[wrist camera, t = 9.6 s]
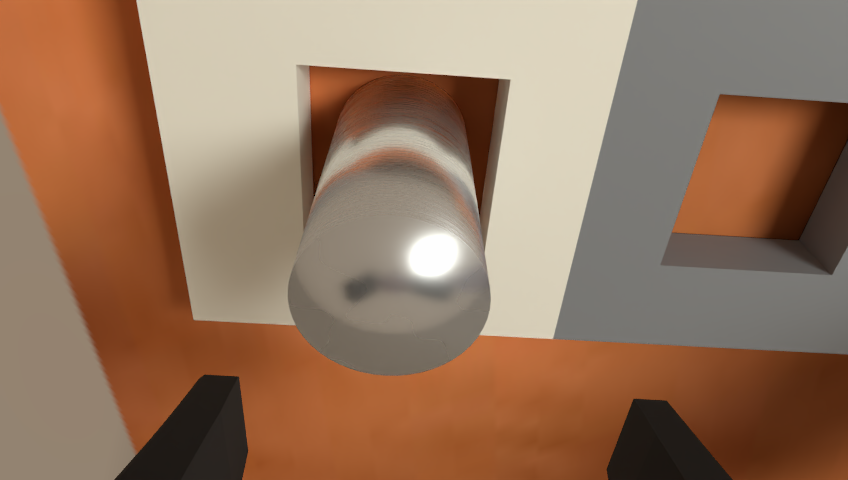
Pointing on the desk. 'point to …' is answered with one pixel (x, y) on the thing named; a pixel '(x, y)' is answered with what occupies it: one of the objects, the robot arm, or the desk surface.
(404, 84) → the steel peg
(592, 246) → the dock board
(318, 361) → the desk surface
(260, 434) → the desk surface
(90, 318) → the desk surface
